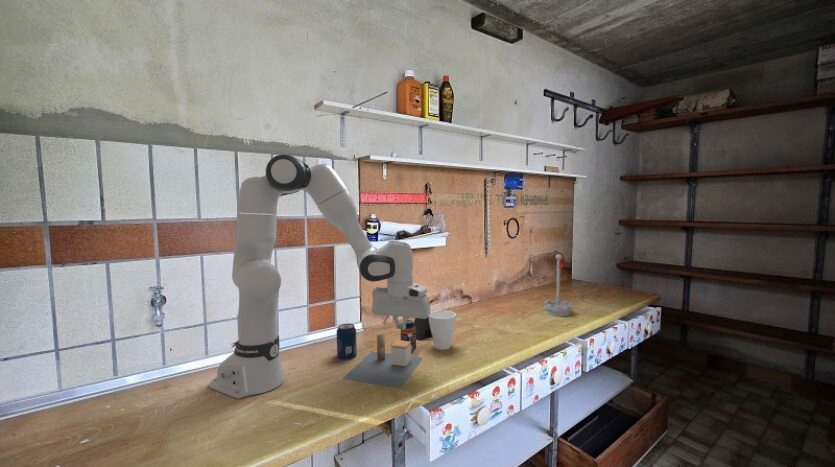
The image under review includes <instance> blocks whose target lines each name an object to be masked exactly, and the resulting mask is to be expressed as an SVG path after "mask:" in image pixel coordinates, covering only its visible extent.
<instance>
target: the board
mask: <svg viewBox="0 0 835 467" xmlns="http://www.w3.org/2000/svg"><path fill="white" fill-rule="evenodd" d="M423 359H424V357H420V356H412V355H411V361H410V362H409V363H408V365H407V366H399V365H392V362H391V353H388V352H385V360H382V361H379V360H377V351H370V352H369V353H368V354H367V355H366V356H365V357H364V358H363V359H362V360H361V361H359V363H357V364H356V365H355V366H354V367H353V368H352V369H351V370H350V371H349V372H348V373H346V374H345V375H344V376H343V377H342V378H341V380H345V381H352V382H357V383H358V382H359V383H363V384H364V383H365V384H370V385H377V386H384V387H390V388H397V389H403V387H404V385H405V384H406V383H407V382H408V380H409V379H410V377H411V376H412V374H414V372H415V371H416V369H417V367H418V366H419V365H420V363H421V362H422V360H423Z"/></svg>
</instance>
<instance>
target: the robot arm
mask: <svg viewBox="0 0 835 467" xmlns="http://www.w3.org/2000/svg"><path fill="white" fill-rule="evenodd" d="M300 191H304V192H306V193H307V194H308V195H309V196H310V197H311V199H312V200H313V202H314V204H315V205H316V207H317V208H318V210H319V211H320V213H321V214H322V216H323V217H324V218H325V219H326V220H327V221H328V223H329V224H331V225H332V226H334V227H335V228H336V229H338V230H339V231H340V232H341V233H342V234H343V235H344V237H345V238H346V240H347V242H348V243H349V245H350V247H351V248H352V250H353V252H354V254H355V256H356V264H357V267H358V270H359V273H360V275H361V277H363V279H365V280H366V281H369V282H374V283H375V282H380V281H384V280H386V286H387V287H381V286H380V287H379V286H377V287H376V288H373V289H372V292H371V293H372V296H371V297H372V302H371V304H372V305H371V312H372V314H374V315H378V316H379V315H380V316H390V317H392V320H393V322H394V324H395V328H396V330H401V329H405V328H406V322H407V321H408V320H410V318H412V319H413V318H414V319H415V318H422V319H426V318H427V317H428V316H429V315H430V312H431V304H430V303H431V302H430V299H429V296H428V295H427V293H428V292H427V291H428V288H427V286H424V285H421V284H419V283H416V282H415V281H414V277H413V268H414V259H413V258H414V257H413V249H412V246H410V244H409V243H407V242H405V241H404V242H403V241H400V240H389V241H388V242H387V243H385V245H383V246H381V247H379V248H376V247H375V246H374V245H373V244H372V243H371V241H370V240H369V239H368V237H367V235H366V234H365V231H364V230H363V228H362V227H361V225H360V223H359V219H358V214H357V212H358V211H357V208H356V205H355V201H354V198H353V196H352V194H351V193H350V191H349V190H348V187H347V185H346V184H345V183H344V181H343V180H342V179H341V178H340V176H339V175H338V173H337V172H336V171H335V170H334V169H333V168H332V167H331V165H329V164H327V163H319V164H318V163H317V164H315V165H313V166H310V165H309V164H307V163H305V162H304V161H302V160H300V159H298V158H297V157H295V156H292V155H289V154H284V153H283V154H278V155H275V156H273V157H272V158H271V159H270V160H269V161H268V163H267V164H266V167H265V174H264V175H263V176H252V177H248V178H246V179H244V180H243V181H242V183H241V185H240V189H239V193H238V198H237V204H236V205H237V207H236V232H235V233H236V234H235V235H236V236H235V246H234V252H233V253H234V254H233V261H232V273H231V279H232V282H233V284H234V285H235V286H236V288H237V290H238V311H237V315H236V317H237V318H236V319H237V338H238V339H237V340H236V341H235V342H233V343H231V345H232V346H231V348H234V347H235V348H234V351H233V352H232V353H231V354H230V355H229V356H228V357H227V358H225V359H224V360H223V361H222V362H220V363H219V365H218V367H217V375H216V376H215V377H214V378H212V379H211V380H210V382H209V383H208V388H210V389H212V390H214V391H217V392H218V393H222V394H224V395H227V396H229V397H232V398H234V399H241V398H245V397H248V396H252V395H253V396H254V395H260V394H263V393H267V392H270V391H272V390H274V389H276V388H278V387H279V386H282V384H283V383H284V382H285V380H286V376H285V374H284V371H283V367H282V363H281V357H280V337H279V336H280V335H279V334H278V316H277V315H278V314H277V312H278V302H279V294H280V290H281V286H282V278H281V274H280V272H279V270H278V269H277V268H276V267H275V265H273V264H272V257H273V251H274V247H275V243H276V241H277V224H278V223H277V221H278V220H277V219H278V218H277V217H278V216H277V215H278V202H279V201H278V200H279V198H280V197H282V196H287V195H292V194H295V193H296V194H297V193H298V192H300ZM399 317H402V320H403V321H404V322H400V320H399Z"/></svg>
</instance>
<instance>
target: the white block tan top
mask: <svg viewBox="0 0 835 467" xmlns="http://www.w3.org/2000/svg"><path fill="white" fill-rule="evenodd" d="M390 348H391V350H390V351H391V352H390V354H391V362H392V365H399V366H407V365H408V363H409V362H410V361H411V356H412V351H411V342H410V341H401V339H396V340H395V341H393V343H392V344H391V347H390Z"/></svg>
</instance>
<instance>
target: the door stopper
mask: <svg viewBox="0 0 835 467" xmlns="http://www.w3.org/2000/svg"><path fill="white" fill-rule="evenodd" d="M413 322H414V326H415V327H416V340H417V341H423V340H425V339H429V338H433V336H432V332H431V329H430V324H429V316H428V317H427V318H426V319H422V318H414V320H413Z"/></svg>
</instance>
